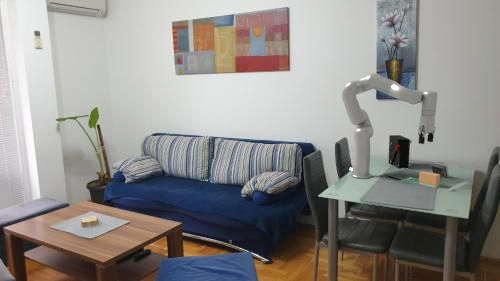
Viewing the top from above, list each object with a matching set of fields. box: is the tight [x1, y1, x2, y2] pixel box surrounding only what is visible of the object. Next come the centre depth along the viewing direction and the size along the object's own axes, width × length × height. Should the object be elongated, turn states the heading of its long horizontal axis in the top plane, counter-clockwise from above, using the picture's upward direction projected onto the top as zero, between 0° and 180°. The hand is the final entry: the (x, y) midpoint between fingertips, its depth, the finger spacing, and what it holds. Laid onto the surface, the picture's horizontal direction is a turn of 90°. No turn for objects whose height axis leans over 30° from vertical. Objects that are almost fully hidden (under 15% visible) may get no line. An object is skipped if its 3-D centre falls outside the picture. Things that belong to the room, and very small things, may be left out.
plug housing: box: [418, 170, 441, 185], centre depth 219 cm, size 10×4×6 cm, turn 40°
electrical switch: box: [431, 162, 450, 178], centre depth 237 cm, size 9×5×9 cm, turn 20°
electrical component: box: [388, 134, 413, 170], centre depth 270 cm, size 18×10×20 cm, turn 179°
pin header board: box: [398, 176, 448, 189], centre depth 225 cm, size 22×14×6 cm, turn 40°
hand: (425, 142), depth 225 cm, fingers open, 9 cm apart
